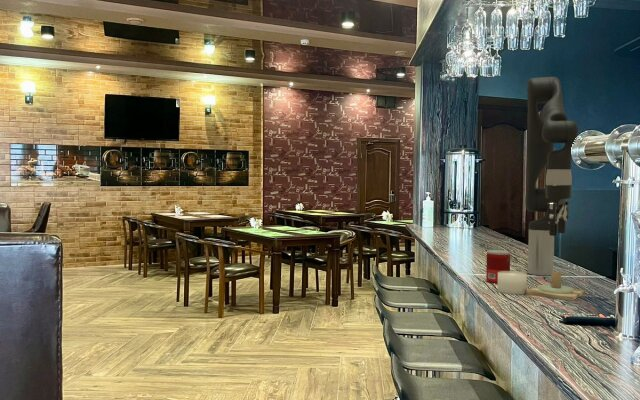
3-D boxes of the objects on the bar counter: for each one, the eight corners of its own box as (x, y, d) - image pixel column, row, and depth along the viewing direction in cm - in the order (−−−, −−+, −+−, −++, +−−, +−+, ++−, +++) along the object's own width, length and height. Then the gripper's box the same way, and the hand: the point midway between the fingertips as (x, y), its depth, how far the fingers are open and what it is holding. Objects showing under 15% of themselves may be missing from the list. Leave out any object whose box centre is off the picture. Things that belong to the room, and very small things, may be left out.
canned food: (511, 284, 192) (511, 253, 192) (487, 283, 194) (487, 252, 193) (508, 280, 200) (508, 250, 199) (485, 279, 201) (485, 249, 201)
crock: (503, 287, 187) (504, 270, 187) (530, 291, 181) (531, 273, 181) (493, 291, 180) (493, 273, 180) (520, 295, 174) (521, 276, 174)
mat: (540, 287, 187) (540, 284, 187) (585, 293, 178) (585, 290, 178) (526, 294, 177) (526, 291, 176) (572, 300, 168) (572, 297, 168)
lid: (545, 286, 184) (545, 268, 184) (576, 290, 178) (577, 271, 178) (534, 290, 177) (535, 272, 177) (567, 295, 170) (568, 275, 170)
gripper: (553, 183, 184) (552, 231, 184) (539, 184, 173) (537, 235, 174) (577, 183, 179) (576, 233, 180) (564, 184, 168) (562, 237, 169)
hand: (557, 234), depth 177 cm, fingers open, 8 cm apart
